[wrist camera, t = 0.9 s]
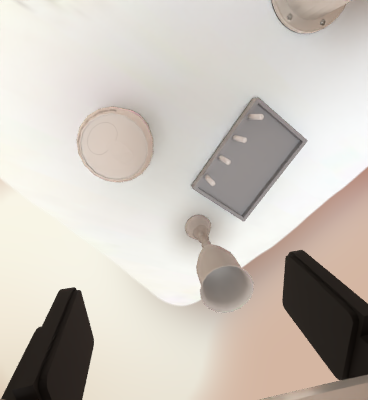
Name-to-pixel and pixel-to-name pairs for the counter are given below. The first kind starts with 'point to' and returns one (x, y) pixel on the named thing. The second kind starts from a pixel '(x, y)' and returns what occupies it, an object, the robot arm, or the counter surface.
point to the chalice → (218, 271)
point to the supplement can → (115, 144)
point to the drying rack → (249, 160)
